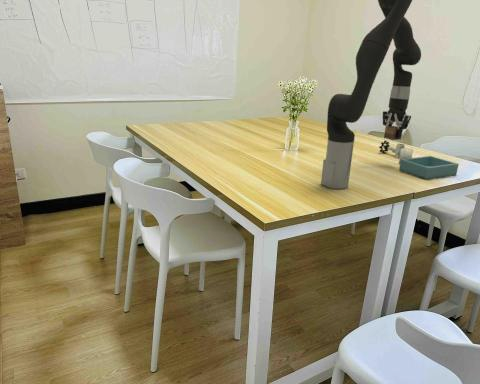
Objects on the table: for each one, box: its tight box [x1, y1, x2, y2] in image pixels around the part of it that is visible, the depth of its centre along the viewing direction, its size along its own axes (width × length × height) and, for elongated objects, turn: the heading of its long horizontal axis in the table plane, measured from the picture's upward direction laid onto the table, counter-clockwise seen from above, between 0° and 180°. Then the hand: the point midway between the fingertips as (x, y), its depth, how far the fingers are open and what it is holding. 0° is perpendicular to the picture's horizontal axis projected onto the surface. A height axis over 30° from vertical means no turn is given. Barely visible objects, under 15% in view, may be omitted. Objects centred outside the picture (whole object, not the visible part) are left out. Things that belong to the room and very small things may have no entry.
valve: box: [378, 140, 406, 159], centre depth 191 cm, size 7×7×12 cm
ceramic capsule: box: [398, 147, 414, 165], centre depth 176 cm, size 5×5×7 cm
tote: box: [398, 155, 460, 181], centre depth 164 cm, size 18×14×5 cm
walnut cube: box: [383, 125, 404, 141], centre depth 168 cm, size 5×5×5 cm
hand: (392, 136), depth 168 cm, fingers closed on walnut cube, 5 cm apart
